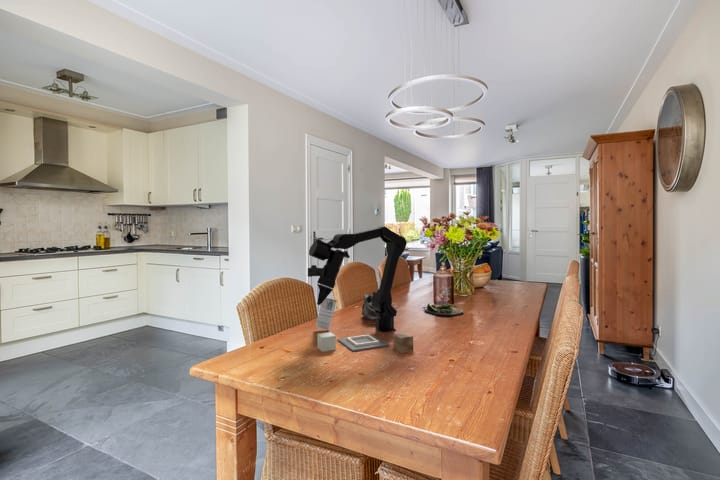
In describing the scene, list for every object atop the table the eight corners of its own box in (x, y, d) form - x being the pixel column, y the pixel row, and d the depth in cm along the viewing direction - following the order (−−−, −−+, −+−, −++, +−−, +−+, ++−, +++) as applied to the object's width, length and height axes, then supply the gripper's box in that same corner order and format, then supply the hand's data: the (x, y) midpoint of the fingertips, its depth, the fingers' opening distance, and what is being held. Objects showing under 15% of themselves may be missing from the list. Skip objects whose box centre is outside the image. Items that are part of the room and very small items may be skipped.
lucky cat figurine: (395, 315, 180) (399, 292, 172) (384, 330, 170) (388, 307, 163) (367, 303, 185) (370, 281, 178) (355, 318, 176) (357, 295, 169)
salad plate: (445, 306, 200) (445, 298, 200) (472, 313, 185) (472, 304, 185) (417, 311, 189) (417, 302, 189) (444, 318, 174) (444, 309, 174)
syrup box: (328, 330, 155) (334, 312, 144) (314, 327, 155) (319, 308, 144) (331, 318, 159) (337, 300, 148) (317, 315, 158) (323, 296, 148)
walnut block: (405, 346, 135) (405, 332, 134) (413, 350, 130) (413, 336, 130) (393, 348, 132) (393, 334, 132) (400, 352, 128) (400, 338, 128)
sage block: (330, 345, 135) (330, 332, 135) (335, 349, 131) (335, 335, 131) (317, 347, 133) (317, 333, 133) (322, 352, 129) (322, 337, 129)
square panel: (371, 335, 147) (371, 332, 147) (388, 346, 135) (388, 342, 134) (337, 340, 141) (337, 336, 141) (352, 351, 129) (352, 347, 129)
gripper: (314, 259, 152) (300, 296, 150) (312, 255, 134) (296, 297, 131) (339, 269, 152) (326, 305, 150) (341, 266, 134) (326, 308, 132)
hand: (318, 304), depth 141 cm, fingers open, 9 cm apart
